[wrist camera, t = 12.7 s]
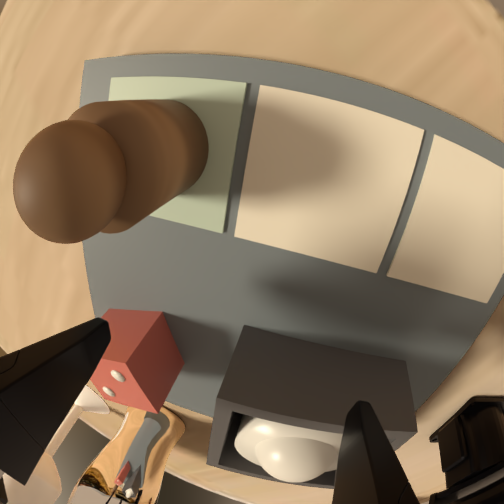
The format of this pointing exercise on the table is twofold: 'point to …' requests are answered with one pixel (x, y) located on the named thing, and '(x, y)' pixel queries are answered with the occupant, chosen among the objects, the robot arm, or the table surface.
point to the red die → (138, 360)
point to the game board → (307, 246)
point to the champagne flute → (45, 473)
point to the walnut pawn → (108, 167)
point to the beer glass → (131, 461)
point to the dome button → (287, 449)
